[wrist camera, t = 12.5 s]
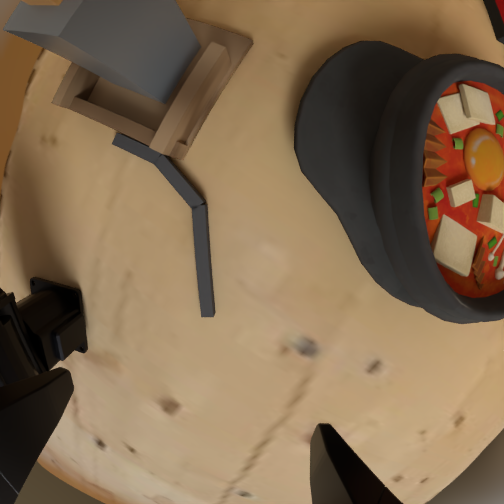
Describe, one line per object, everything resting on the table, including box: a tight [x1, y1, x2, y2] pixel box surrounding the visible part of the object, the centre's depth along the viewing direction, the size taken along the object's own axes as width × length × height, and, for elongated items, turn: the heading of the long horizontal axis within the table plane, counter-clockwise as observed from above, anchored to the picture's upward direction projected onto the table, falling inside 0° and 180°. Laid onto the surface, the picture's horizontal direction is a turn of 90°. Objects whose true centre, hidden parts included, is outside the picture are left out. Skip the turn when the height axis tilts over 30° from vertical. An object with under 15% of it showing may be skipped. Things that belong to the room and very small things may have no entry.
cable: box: [112, 133, 215, 317], centre depth 20 cm, size 4×15×1 cm, turn 27°
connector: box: [3, 0, 201, 104], centre depth 11 cm, size 5×5×13 cm
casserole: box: [294, 41, 504, 324], centre depth 14 cm, size 25×19×8 cm
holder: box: [52, 18, 253, 160], centre depth 16 cm, size 10×11×4 cm
